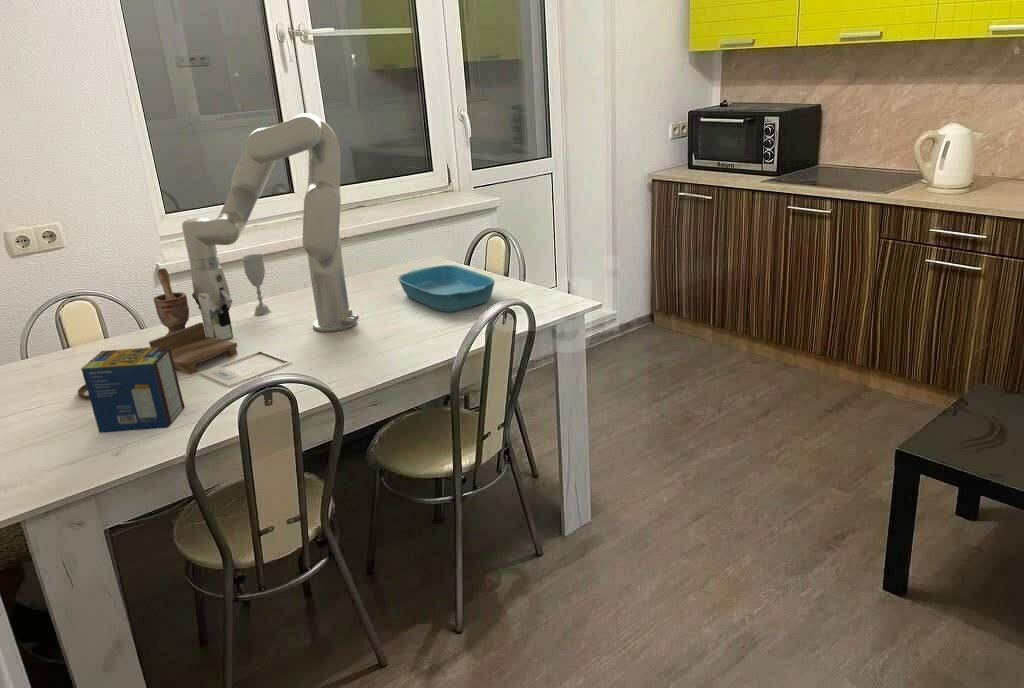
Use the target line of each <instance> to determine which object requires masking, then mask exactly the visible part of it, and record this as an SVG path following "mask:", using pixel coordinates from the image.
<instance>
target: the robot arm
mask: <svg viewBox="0 0 1024 688" xmlns="http://www.w3.org/2000/svg"><path fill="white" fill-rule="evenodd" d="M305 151H307V152H308V178H307V189H306V192H305V195H304V198H303V200H304V201H303V222H302V247H303V248H304V250H305V253H306V254H307V259H308V261H307V262H308V268H309V274H310V281H311V287H312V294H313V301H314V306H315V312H316V313H315V314H316V318H317V319H316V320H314V321H313V323H312V329H314V330H315V331H318V332H324V333H325V332H326V333H327V332H330V333H331V332H337V331H344V330H346V329H349V328H352V327H353V326H355V325H356V324H357V321H358V320H359V318H360V317H359V315H356V314H354V313H353V310H352V308H350V306H349V305H350V304H349V298H348V292H347V291H348V290H347V285H346V284H347V283H346V277H345V268H344V263H343V262H344V261H343V253H342V245H341V243H342V242H341V235H340V224H341V223H340V222H341V221H340V220H341V201H342V197H341V187H340V186H341V150H340V144H339V140H338V138H337V136H336V134H335V132H334V130H333V129H332V128H331V126H329V124H327V123H326V121H324V120H323V119H321V118H320V117H318V116H316V115H314V114H312V113H307V112H305V113H299V114H297V115H296V116H295V117H294V118H291V119H289V120H285V121H282V122H280V123H278V124H275V125H272V126H268V127H260V128H257V129H255V130H254V131H252V132H250V134H249V135H248V136H247V138H246V141H245V147H244V150H243V153H242V154H241V157H240V159H239V161H238V163H237V165H236V167H235V170H234V171H233V174H232V177H231V180H230V189H229V192H228V195H227V197H226V200H225V201H224V204H223V207H222V209H221V211H220V213H219V215H218V216H217V217H216V218H215V219H211V220H210V219H209V218H208V217H207V218H206V217H195V218H194V217H193V218H189V219H187V220H184V221H183V222H182V226H181V227H182V233H183V238H184V242H185V246H186V250H187V251H186V252H187V254H188V255H187V256H188V257H187V258H188V261H189V266H190V271H191V273H190V274H191V281H192V288H193V292H192V294H191V296H192V298H193V299H194V301H195V303H196V305H197V306H198V309H199V310H200V311H201V309H200V304H199V299H198V295H199V292H200V293H205V294H209V295H210V298H211V301H212V303H213V304H215V305H216V307H217V309H218V311H219V313H218V316H219V321H220V326H221V327H224V326H226V325H229V324H231V325H232V322H231V317H230V308H231V306H232V304H233V299H232V298H231V293H230V290H229V286H228V282H227V279H226V276H225V272H224V270H223V268H222V266H221V265H220V260H219V256H218V250H217V246H230V245H233V244H235V243H236V242H237V241H238V240H239V238H240V237H241V235H242V233H243V231H244V229H246V226H247V223H248V221H249V218H250V217H251V214H252V213H253V210H254V208H255V205H256V203H257V202H258V199H259V198H260V197H261V196H262V193H263V191H264V189H265V187H266V184H267V182H268V180H269V178H270V176H271V173H272V170H273V169H274V167H275V164H276V163H277V161H279V160H284V159H285V158H289V157H292V156H294V155H296V154H299V153H302V152H305ZM221 298H223V301H219V299H221ZM222 303H223V306H222V308H221V306H220V304H222Z"/></svg>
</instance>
